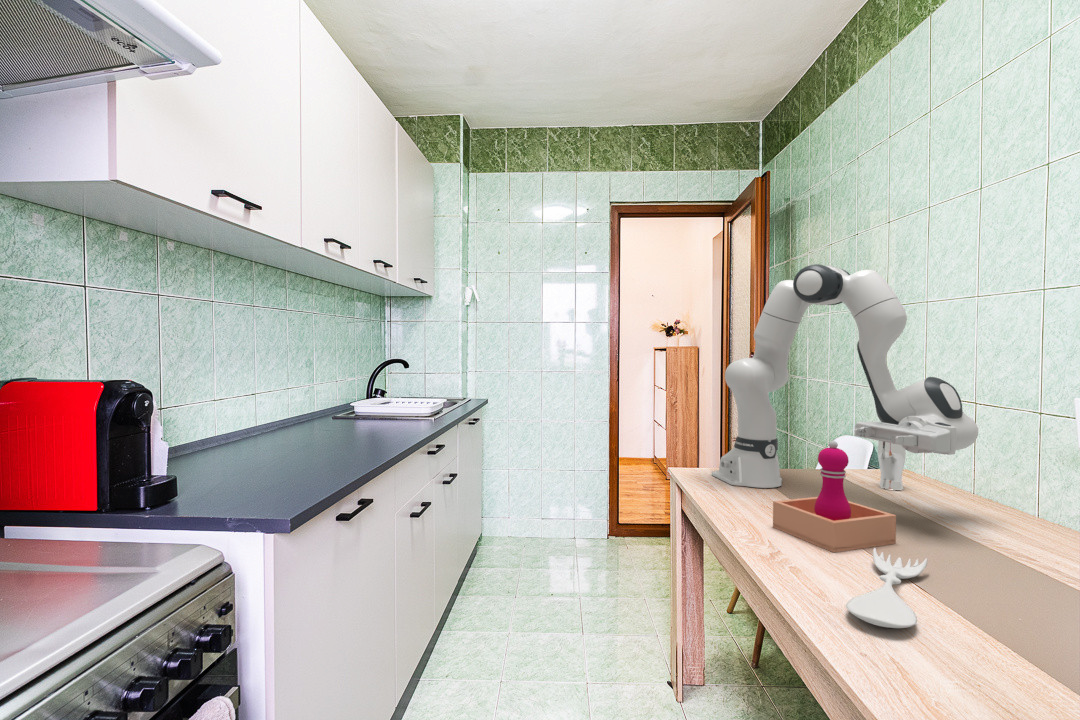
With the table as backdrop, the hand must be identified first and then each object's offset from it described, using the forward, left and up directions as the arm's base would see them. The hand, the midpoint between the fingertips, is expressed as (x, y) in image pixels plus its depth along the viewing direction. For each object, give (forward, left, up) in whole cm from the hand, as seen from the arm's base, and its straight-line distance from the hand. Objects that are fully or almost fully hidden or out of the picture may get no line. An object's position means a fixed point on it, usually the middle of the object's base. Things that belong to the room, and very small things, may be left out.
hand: (875, 436), depth 125 cm
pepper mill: (0, -13, -21) cm, 24 cm away
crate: (0, -13, -21) cm, 25 cm away
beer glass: (-27, +39, -22) cm, 52 cm away
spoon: (+27, -29, -22) cm, 45 cm away
